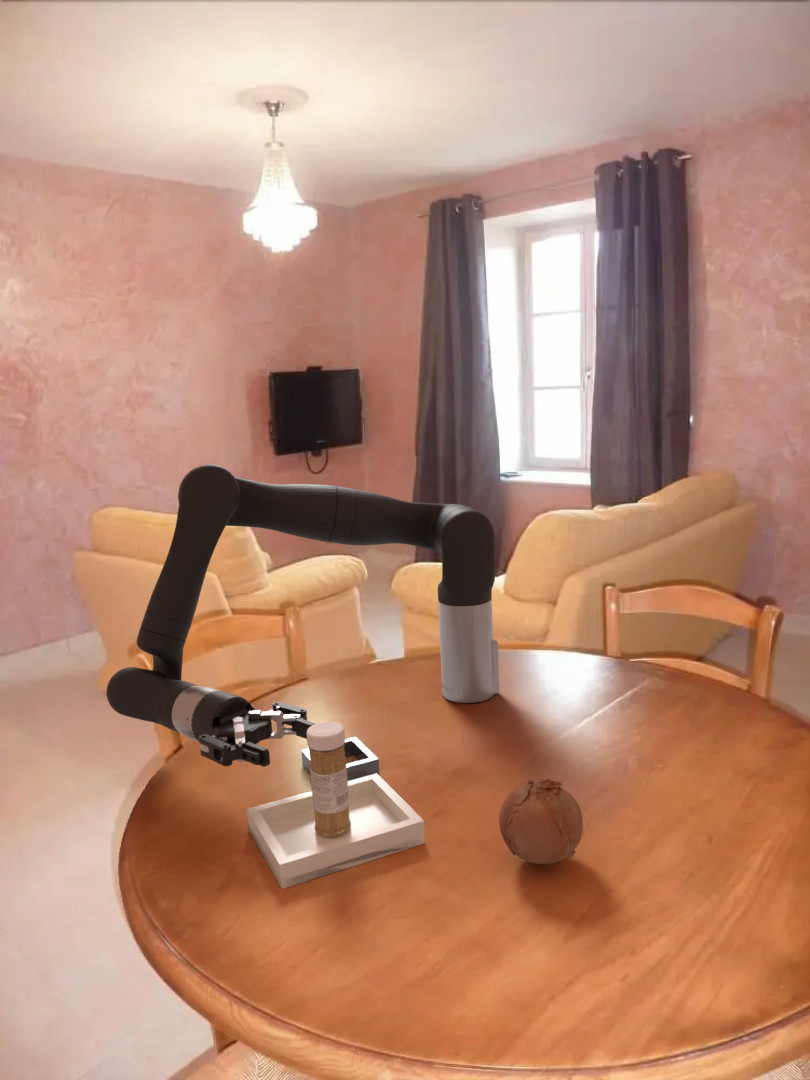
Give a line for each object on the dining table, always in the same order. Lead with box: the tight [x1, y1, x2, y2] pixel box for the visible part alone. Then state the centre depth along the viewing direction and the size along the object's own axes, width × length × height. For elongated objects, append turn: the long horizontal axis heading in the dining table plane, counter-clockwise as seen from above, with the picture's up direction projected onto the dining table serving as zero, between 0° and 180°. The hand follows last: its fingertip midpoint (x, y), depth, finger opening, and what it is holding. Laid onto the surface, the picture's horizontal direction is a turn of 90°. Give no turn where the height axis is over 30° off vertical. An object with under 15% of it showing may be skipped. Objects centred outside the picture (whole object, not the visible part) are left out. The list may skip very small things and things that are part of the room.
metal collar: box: [300, 736, 380, 781], centre depth 119 cm, size 9×9×2 cm
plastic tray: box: [246, 773, 426, 890], centre depth 102 cm, size 18×14×3 cm
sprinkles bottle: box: [306, 721, 351, 837], centre depth 101 cm, size 5×5×14 cm
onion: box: [498, 778, 584, 866], centre depth 94 cm, size 10×9×10 cm
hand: (293, 745), depth 104 cm, fingers open, 8 cm apart
